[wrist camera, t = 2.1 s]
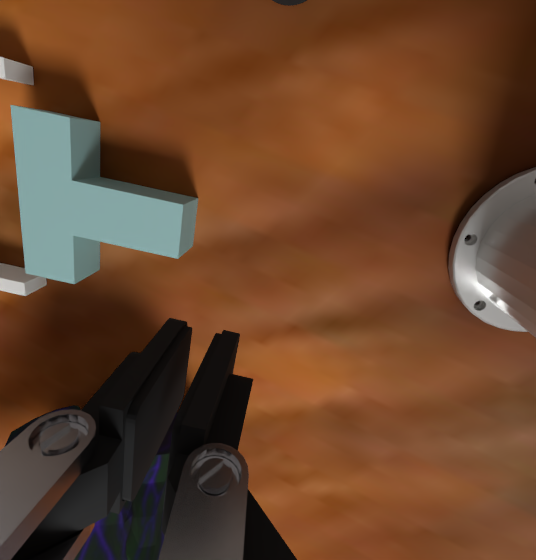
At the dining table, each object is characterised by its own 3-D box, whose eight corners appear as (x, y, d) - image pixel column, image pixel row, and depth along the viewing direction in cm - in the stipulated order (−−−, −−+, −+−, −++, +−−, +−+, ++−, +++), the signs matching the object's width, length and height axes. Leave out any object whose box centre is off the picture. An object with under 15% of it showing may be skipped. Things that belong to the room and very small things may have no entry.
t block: (204, 144, 25) (189, 143, 21) (187, 289, 29) (173, 306, 26) (48, 110, 25) (10, 105, 22) (56, 259, 29) (25, 273, 26)
